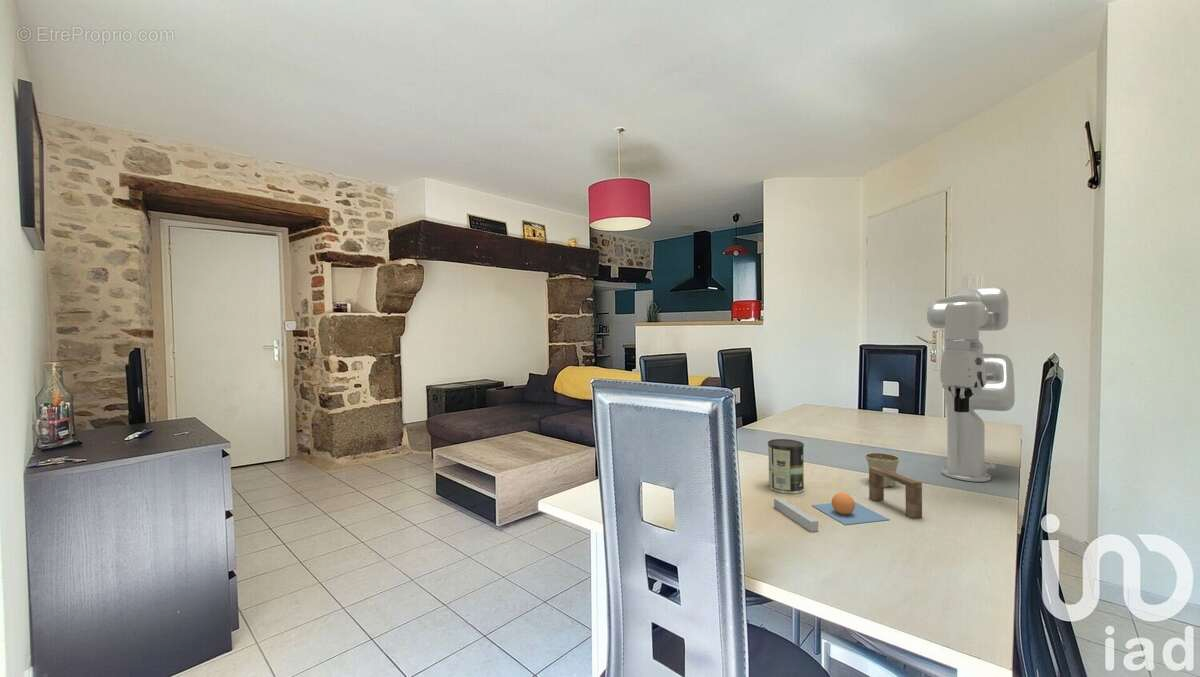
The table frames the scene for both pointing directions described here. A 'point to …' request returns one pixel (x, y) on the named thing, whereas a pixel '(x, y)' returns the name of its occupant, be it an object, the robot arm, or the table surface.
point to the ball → (843, 503)
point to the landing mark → (851, 514)
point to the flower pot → (883, 464)
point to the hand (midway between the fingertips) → (961, 411)
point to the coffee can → (786, 466)
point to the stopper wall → (796, 514)
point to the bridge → (911, 485)
